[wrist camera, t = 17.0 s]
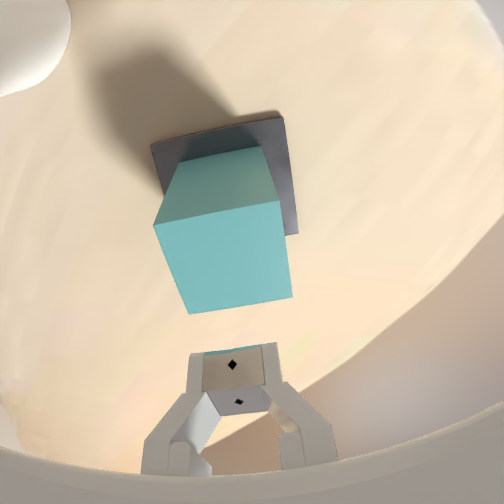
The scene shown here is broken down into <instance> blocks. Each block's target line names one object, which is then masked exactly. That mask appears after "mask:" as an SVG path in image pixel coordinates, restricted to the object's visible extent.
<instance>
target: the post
mask: <svg viewBox="0 0 504 504" xmlns="http://www.w3.org/2000/svg"><path fill="white" fill-rule="evenodd" d="M257 146H261V147H262V150H263V153H264V156H265V159H266V162H267V165H268V168H269V171H270V174H271V176H272V179H273V182H274V185H275V188H276V191H277V194H278V197H279V201H280V207H281V214H282V221H283V228H284V235H285V236H287V235H293V234H299V231H298V222H297V214H296V205H295V197H294V189H293V181H292V174H291V166H290V159H289V152H288V145H287V138H286V131H285V124H284V118H283V117H276V118H269V119H263V120H257V121H252V122H246V123H241V124H236V125H230V126H225V127H221V128H216V129H211V130H207V131H202V132H198V133H193V134H189V135H185V136H181V137H177V138H173V139H169V140H165V141H161V142H157V143H154V144H151V145H150V148H151V151H152V155H153V158H154V161H155V165H156V168H157V171H158V174H159V178H160V181H161V184H162V187H163V190H164V194H166V192H167V190H168V187H169V185H170V183H171V180H172V178H173V176H174V173H175V171H176V169H177V166H178V164H179V163H180V162H184V161H189V160H193V159H197V158H202V157H207V156H211V155H216V154H221V153H226V152H231V151H236V150H241V149H246V148H252V147H257Z"/></svg>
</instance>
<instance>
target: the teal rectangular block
mask: <svg viewBox="0 0 504 504" xmlns="http://www.w3.org/2000/svg"><path fill="white" fill-rule="evenodd" d="M153 227H154V230H155V232H156V235H157V238H158V240H159V243H160V246H161V248H162V251H163V253H164V256H165V258H166V261H167V263H168V266H169V268H170V271H171V273H172V276H173V278H174V281H175V283H176V286H177V288H178V290H179V293H180V295H181V297H182V300H183V302H184V305H185V307H186V309H187V311H188V314H196V313H202V312H209V311H215V310H222V309H228V308H234V307H240V306H246V305H252V304H258V303H264V302H269V301H275V300H280V299H286V298H291V297H293V295H292V287H291V279H290V272H289V264H288V257H287V249H286V242H285V235H284V228H283V221H282V214H281V207H280V201H279V197H278V194H277V191H276V188H275V185H274V182H273V179H272V176H271V174H270V171H269V168H268V165H267V162H266V159H265V156H264V153H263V150H262V147H261V146H257V147H252V148H246V149H241V150H236V151H231V152H226V153H221V154H216V155H211V156H207V157H202V158H197V159H193V160H189V161H184V162H180V163H179V164H178V166H177V169H176V171H175V173H174V176H173V178H172V180H171V183H170V185H169V187H168V190H167V192H166V194H165V197H164V199H163V202H162V204H161V206H160V209H159V211H158V214H157V216H156V219H155V222H154V224H153Z"/></svg>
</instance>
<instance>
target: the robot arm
mask: <svg viewBox="0 0 504 504" xmlns="http://www.w3.org/2000/svg"><path fill="white" fill-rule="evenodd" d="M265 411H268V412H269V413H270V414H271V416H272V417H273V418H274V419H275V420H276V421H277V423H278V424H279V425H280V426H281V427H282V428H283V430H284V431H285V432H286V433H283V434H281V435H280V437H279V448H280V459H281V470H280V471H272V472H263V473H253V474H241V475H224V476H212V466H210V465H209V464H208V463H207V462H206V461H205V460H204V459H203V458H202V457H201V456H200V455H199V454H200V452H201V451H202V449H203V448H204V446H205V444H206V443H207V441H208V439H209V438H210V436H211V434H212V433H213V431H214V429H215V428H216V426H217V424H218V422H219V421H220V419H221V416H229V415H237V414H244V413H255V412H265ZM0 504H504V400H503V401H501V402H499V403H497V404H495V405H493V406H491V407H489V408H487V409H485V410H483V411H481V412H479V413H477V414H475V415H472V416H470V417H468V418H466V419H464V420H461V421H459V422H457V423H454V424H452V425H450V426H447V427H445V428H442V429H440V430H437V431H435V432H432V433H429V434H427V435H425V436H421V437H419V438H416V439H413V440H410V441H407V442H404V443H401V444H398V445H395V446H391V447H388V448H385V449H381V450H378V451H374V452H371V453H367V454H363V455H359V456H355V457H351V458H347V459H343V460H339V459H338V454H337V449H336V444H335V440H334V435H333V430H332V426H331V423H329V422H328V421H327V420H326V419H325V418H324V417H323V416H322V415H321V414H320V413H319V412H318V411H317V410H315V408H314V407H312V406H311V405H310V404H309V403H308V402H307V401H306V400H305V399H304V398H303V397H302V396H301V395H300V394H299V393H298V392H297V391H296V390H295V389H294V388H293V387H292V386H291V385H290V384H289V383H288V382H284V379H283V372H282V367H281V361H280V356H279V351H278V345H277V342H273V343H267V344H259V345H253V346H247V347H241V348H234V349H231V350H221V351H211V352H201V353H192V354H191V355H190V357H189V364H188V375H187V386H186V393H183V394H181V395H180V397H179V398H178V399H177V401H176V402H175V403H174V404H173V406H172V407H171V408H170V409H169V411H168V412H167V413H166V414H165V416H164V417H163V418H162V419H161V421H160V422H159V423H158V424H157V426H156V427H155V428H154V429H153V431H152V432H151V433H150V434H149V436H148V437H147V438H146V439H145V440H144V448H143V456H142V465H141V474H133V473H123V472H114V471H106V470H99V469H92V468H86V467H80V466H75V465H70V464H65V463H60V462H55V461H51V460H47V459H43V458H39V457H35V456H31V455H27V454H23V453H20V452H17V451H13V450H10V449H7V448H4V447H1V446H0Z"/></svg>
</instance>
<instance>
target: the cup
mask: <svg viewBox="0 0 504 504" xmlns="http://www.w3.org/2000/svg"><path fill="white" fill-rule="evenodd" d="M70 31H71V14H70V9H69V6H68V4H67V2H66V0H0V97H2V96H5V95H8V94H11V93H14V92H17V91H20V90H24V89H27V88H30V87H32V86H34V85H36V84H38V83H39V82H41V81H42V80H44V79H45V78H46V77H47V76H48V75H49V74H50V73H51V72H52V71H53V69H54V68H55V67H56V66H57V64H58V63H59V61H60V59H61V58H62V56H63V54H64V52H65V49H66V47H67V44H68V41H69V37H70Z"/></svg>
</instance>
